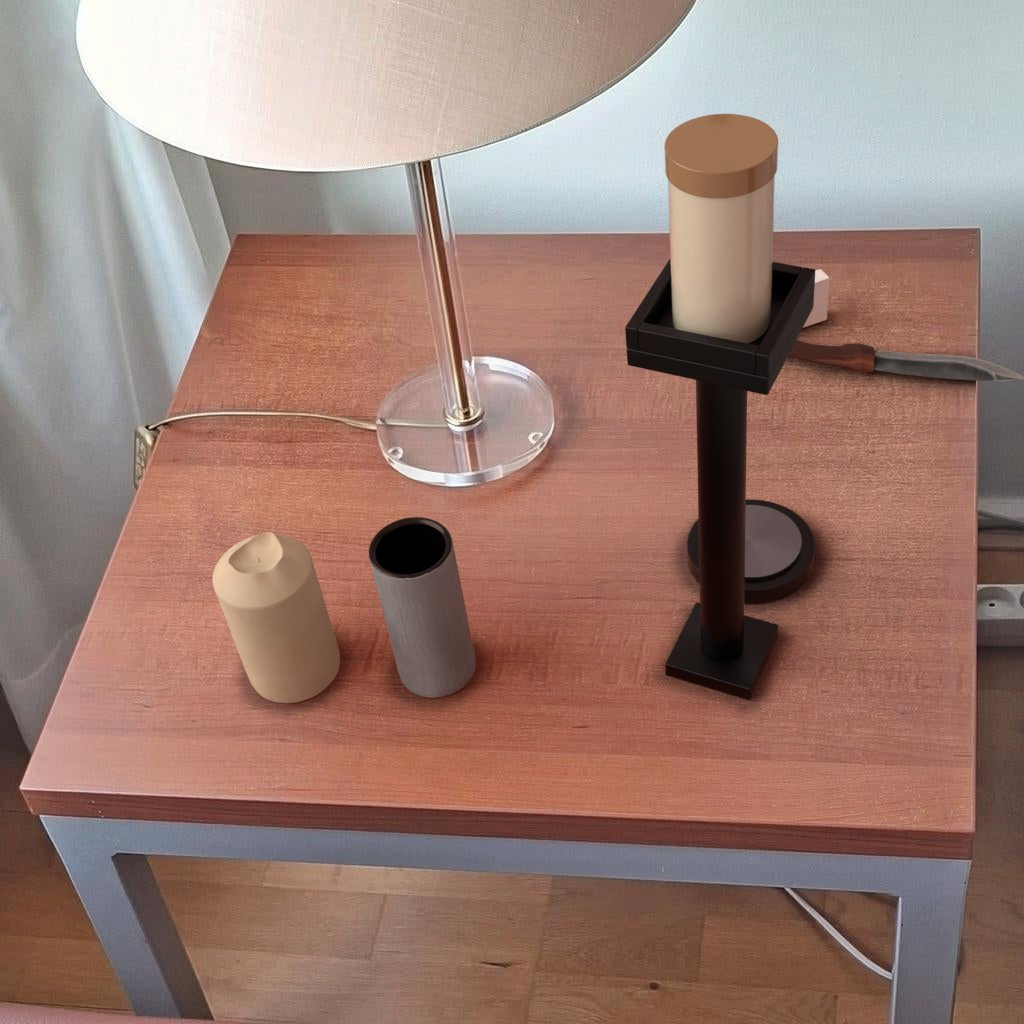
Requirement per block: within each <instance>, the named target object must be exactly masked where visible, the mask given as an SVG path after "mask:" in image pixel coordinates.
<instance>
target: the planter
mask: <svg viewBox="0 0 1024 1024" xmlns="http://www.w3.org/2000/svg"><path fill="white" fill-rule="evenodd" d="M454 546H455V545H454V541H453V537H452V535H451V533H450V531H449V530H448V529H447V527H446V526H445V525H443V524H442V523H440V522H438V521H437V520H435V519H431V518H428V517H421V516H411V517H404V518H401V519H400V518H399V519H397V520H394V521H392V522H390V523H388V524H387V525H385V526H383V527H382V528H381V529H379V531H378V532H376V533H375V535H374V536H373V538H372V539H371V541H370V544H369V545H368V551H367V552H368V553H367V554H368V555H367V556H368V560H369V564H370V567H371V568H370V569H371V572H372V576H373V580H374V583H375V587H376V591H377V595H378V599H379V603H380V606H381V610H382V614H383V619H384V622H385V623H384V624H385V627H386V630H387V634H388V638H389V642H390V646H391V649H392V650H391V651H392V654H393V657H394V662H395V666H396V669H397V673H398V676H399V678H400V681H401V683H402V684H403V686H404V687H405V688H406V689H407V690H408V691H409V692H411V693H413V694H414V695H417V696H420V697H424V698H443V697H446V696H450V695H453V694H454V693H456V692H458V691H460V690H461V689H463V688H464V687H465V686H466V685H468V683H469V682H470V681H471V679H472V677H473V676H474V674H475V671H476V654H475V649H474V643H473V639H472V632H471V628H470V624H469V623H470V622H469V618H468V613H467V608H466V602H465V597H464V593H463V587H462V582H461V577H460V571H459V567H458V566H459V565H458V562H457V556H456V552H455V547H454Z"/></svg>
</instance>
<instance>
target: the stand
mask: <svg viewBox="0 0 1024 1024" xmlns="http://www.w3.org/2000/svg"><path fill="white" fill-rule="evenodd" d="M815 271H816V269H815V268H811V267H805V266H803V267H802V266H799V265H794V264H788V263H783V262H777V261H772V297H771V321H770V325H769V327H768V329H767V330H766V332H765V333H764V334H763V335H762V336H760V337H759V338H758V339H756V340H755V341H753V342H751V343H749V344H747V343H742V342H737V341H732V340H727V339H723V338H718V337H713V336H708V335H703V334H698V333H693V332H688V331H683V330H678V329H675V328H674V326H673V321H672V292H671V261H670V258H669V259H668V261H667V262H666V263H665V264H664V266H663V268H662V270H661V271H660V273H659V274H658V276H657V277H656V278H655V281H654V282H653V283H652V285H651V287H650V288H649V290H648V291H647V293H646V295H645V296H644V298H643V299H642V300H641V302H640V304H639V305H638V306H637V308H636V310H635V311H634V313H633V315H632V316H631V317H630V319H629V320H628V322H627V323H626V325H625V327H624V330H625V345H626V363H627V366H630V367H634V368H639V369H643V370H646V371H647V370H648V371H651V372H657V373H662V374H667V375H671V376H675V377H680V378H684V379H690V380H694V381H695V406H696V407H695V410H696V411H695V412H696V415H695V416H696V461H697V463H696V465H697V466H696V467H697V508H698V509H697V515H698V518H697V520H698V522H699V574H700V584H699V602H698V601H696V602H695V603H694V605H693V608H692V609H691V612H690V613H689V615H688V616H687V617H688V618H687V619H686V622H684V625H683V627H682V629H681V631H680V634H679V636H678V638H677V639H676V641H675V643H674V646H672V649H671V651H670V654H669V656H668V657H667V660H666V661H665V663H664V668H665V669H664V670H665V676H667V677H671V678H675V679H678V680H681V681H685V682H687V683H691V684H694V685H698V686H700V687H704V688H707V689H711V690H715V691H719V692H720V693H723V694H727V695H731V696H735V697H737V698H740V699H744V700H747V701H750V700H751V699H752V696H753V694H754V691H755V689H756V687H757V686H758V682H759V680H760V678H761V676H762V673H763V671H764V670H765V666H766V664H767V662H768V660H769V657H770V656H771V655H770V654H771V653H772V651H773V648H774V646H775V644H776V642H777V639H778V638H779V624H777V623H774V622H770V621H766V620H762V619H759V618H756V617H752V616H748V615H745V603H744V585H745V515H746V499H747V445H748V443H747V441H748V440H747V439H748V438H747V435H748V434H747V433H748V431H747V430H748V393H749V392H750V393H755V394H759V395H764V396H767V395H769V394H770V392H771V390H772V388H773V386H774V384H775V382H776V380H777V378H778V376H779V375H780V372H781V370H782V369H783V367H784V365H785V363H786V361H787V359H788V357H789V356H788V355H789V353H790V351H791V349H792V348H793V346H794V344H795V342H796V340H797V341H798V338H799V336H800V334H801V332H802V330H803V326H804V324H805V323H806V321H807V319H808V317H809V315H810V313H811V311H812V309H813V304H814V287H815Z"/></svg>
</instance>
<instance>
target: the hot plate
mask: <svg viewBox="0 0 1024 1024" xmlns="http://www.w3.org/2000/svg"><path fill="white" fill-rule="evenodd" d="M686 555H687V565H688V569H689V572H690V573H691V575H692V577H693V578H694V580H695V581H696V582H697V583H698V584H699V585H700V574H699V522H698V519H696V521H694V523H693V525H692V527H691V528H690V530H689V533H688V536H687V540H686ZM815 557H816V541H815V536H814V533H813V531H812V529H811V527H810V526H809V524H808V523H807V522H806V521H805V519H804V518H802V517H801V516H800V515H799V514H798V513H797V512H795V511H794V510H793V509H790V508H788V507H787V506H784V505H782V504H779V503H777V502H772V501H769V500H764V499H755V498H754V499H747V498H746V515H745V585H744V605H745V604H746V605H747V604H748V605H756V604H767V603H771V602H775V601H779V600H781V599H784V598H786V597H788V596H789V595H792V594H794V593H795V592H797V590H799V589H800V588H801V587H802V586H803V585H804V584H805V583H806V582H807V581H808V579H809V578H810V576H811V574H812V572H813V569H814V566H815Z"/></svg>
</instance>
